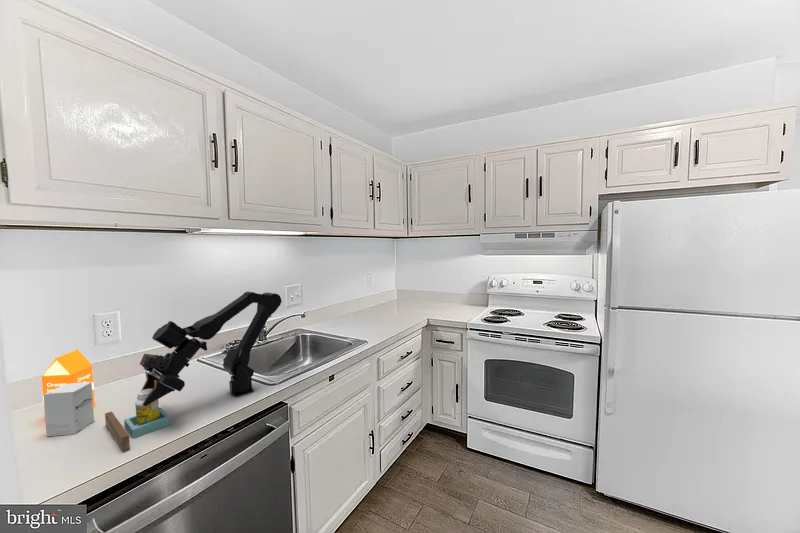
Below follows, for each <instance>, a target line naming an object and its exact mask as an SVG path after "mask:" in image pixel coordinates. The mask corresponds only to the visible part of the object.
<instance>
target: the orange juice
mask: <svg viewBox="0 0 800 533" xmlns="http://www.w3.org/2000/svg"><path fill="white" fill-rule="evenodd" d="M93 374H94V373H93V364H92V363H91V362H90V361H89V360H88V359H87V358H86V357H85V355H83V353H82V352H81V351H80V350H79V349H75V350H72V351H70V352H67V353H65V354H63V355H59V356H57V357H55V358H54V359H53V360H52V362H51V364H50V365H49V366H48V368H47V369H46V371H45V372H44V373H43V375H41V384H42V386H41V387H42V402H43V404H44V394H46V393H48V392H50V391H52V390H54V389H56V388H58V387H60V386H62V385H64V384H71V383H83V382H92V396H93V408H94V407H95V406H96V402H95V385H94V376H93ZM43 411H44V413H45V408H44V407H43Z"/></svg>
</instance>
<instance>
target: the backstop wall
mask: <svg viewBox="0 0 800 533" xmlns="http://www.w3.org/2000/svg"><path fill="white" fill-rule="evenodd" d="M104 416H105V418H104V419H105V428H106V429H107V430H108V432H109V433H110V435H111V437H112V439H113V440H114V442H115V443H116V444H117V446H118V448H119V450H120V451H121V453H124V452H127V451H130V446H131V444H130V436H129V435H130V434H129V433H128V431H127V430H126V429H125V427H124V426H123V425H122V424H121V422H120V421H119V419H118V418H117V417H116V415H115V414H114V412H113V411H108V412H106V413H104Z"/></svg>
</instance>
